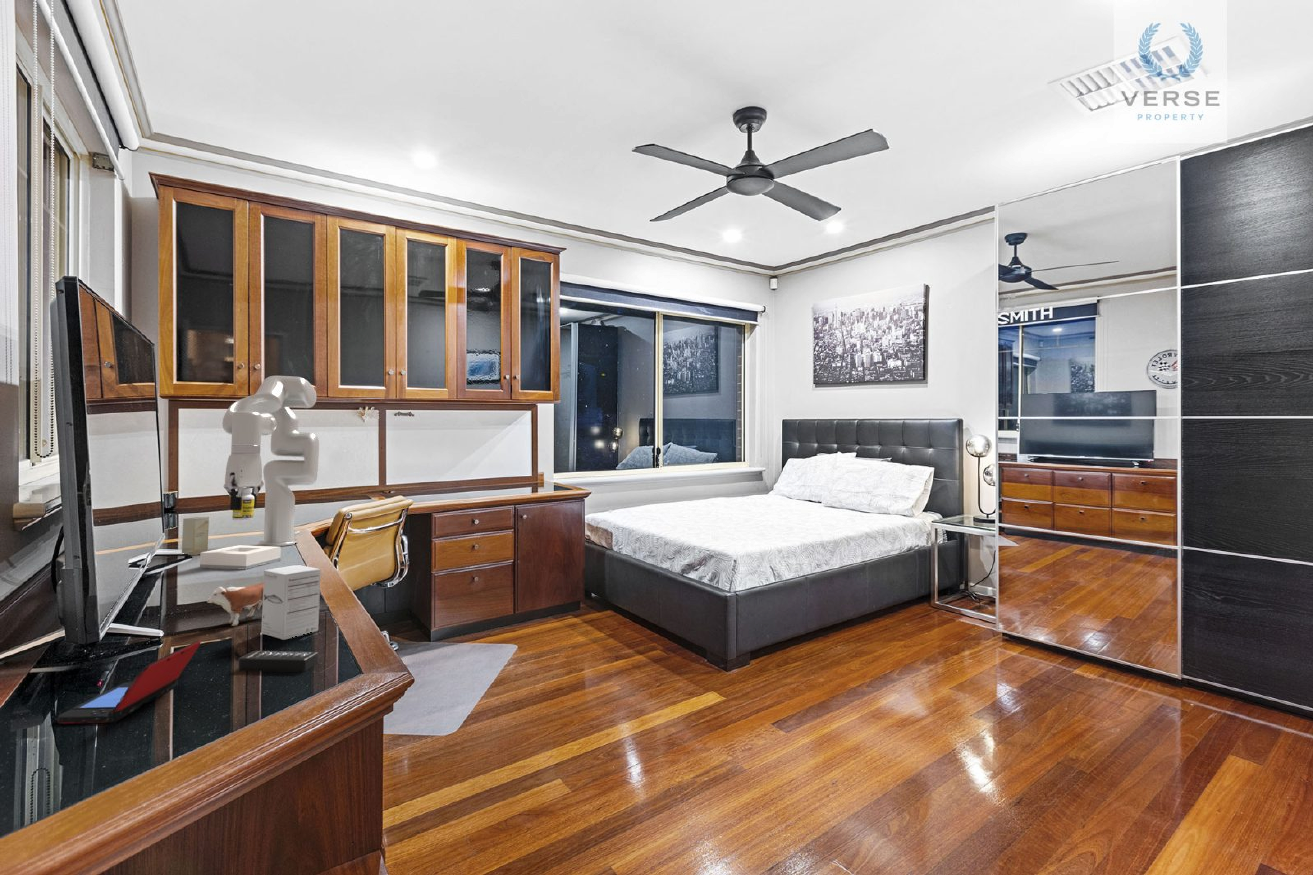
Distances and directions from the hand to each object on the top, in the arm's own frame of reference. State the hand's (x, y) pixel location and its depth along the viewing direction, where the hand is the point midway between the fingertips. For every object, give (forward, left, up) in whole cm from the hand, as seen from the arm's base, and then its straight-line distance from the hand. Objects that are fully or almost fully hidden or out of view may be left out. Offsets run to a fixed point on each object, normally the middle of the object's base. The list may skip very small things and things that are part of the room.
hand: (243, 508), depth 187 cm
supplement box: (+63, +61, -17) cm, 90 cm away
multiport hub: (+81, +72, -18) cm, 109 cm away
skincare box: (-14, -28, -17) cm, 36 cm away
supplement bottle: (0, 0, -4) cm, 4 cm away
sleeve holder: (0, 0, -17) cm, 17 cm away
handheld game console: (+97, +62, -18) cm, 116 cm away
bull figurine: (+57, +46, -17) cm, 75 cm away
